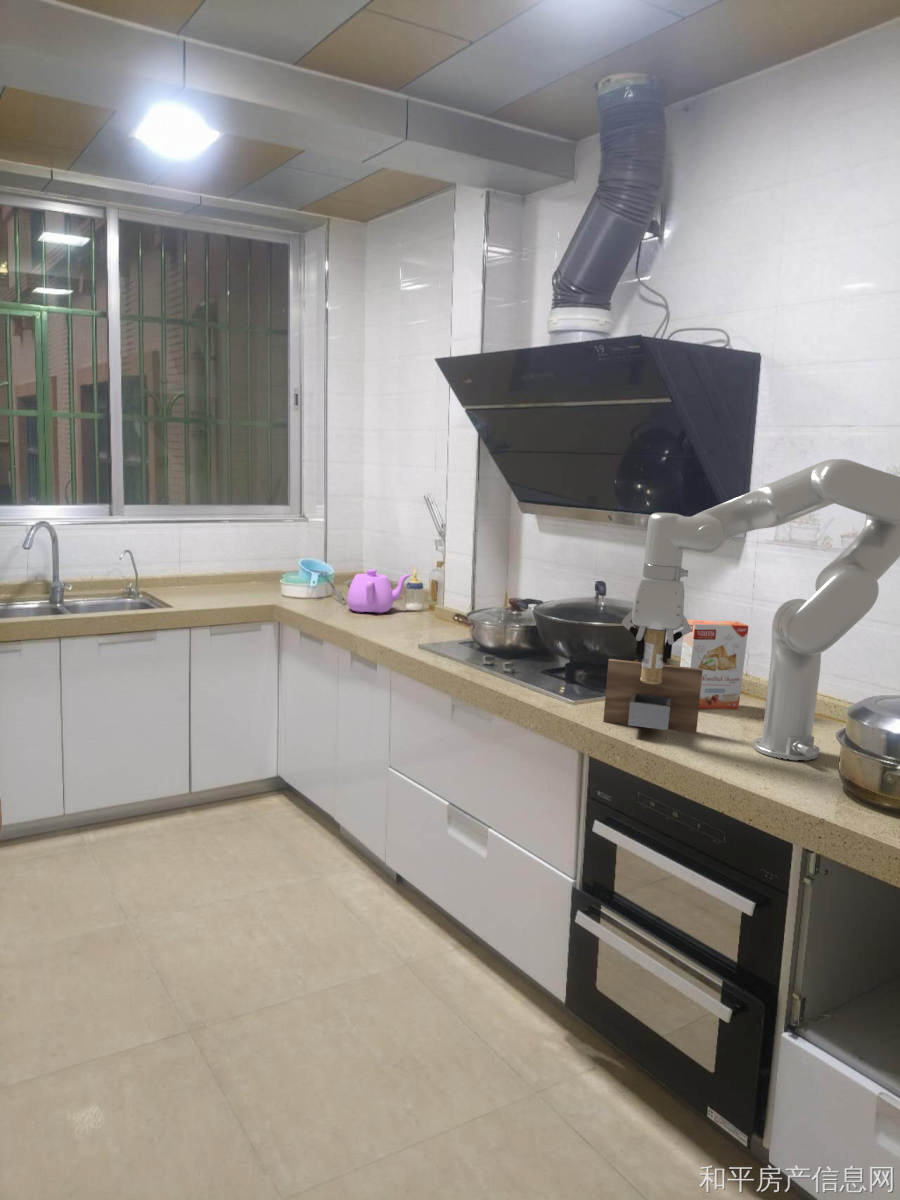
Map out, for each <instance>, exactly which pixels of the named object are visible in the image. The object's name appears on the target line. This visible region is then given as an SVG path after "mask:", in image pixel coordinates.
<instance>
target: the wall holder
mask: <svg viewBox="0 0 900 1200" xmlns="http://www.w3.org/2000/svg"><path fill="white" fill-rule="evenodd" d="M702 671H703V669H699V668H689V667H680V665H672V664H671V665H670V664H669V665H668V664H663V670H662V683H660V684H647V683H644V682H642V681H641V680H640V678H641V673H642V661H641V662H640V661H632V660H624V659H623V660H622V659H615V658H614V659H613V658H609V659H608V661H607V672H606V683H605V684H606V685H605V697H604V709H603V711H604V712H603V723H610V724H611V723H612V724H617V723H618V724H620V725H626V726H632V727H641V728H647V729H654V730H655V729H656V730H664V731H671V732H673V731H675V732H681V733H689V734H697V729H698V728H697V727H698V720H699V719H698V718H699V710H700V709H699V701H700V691H701V681H702Z"/></svg>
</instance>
